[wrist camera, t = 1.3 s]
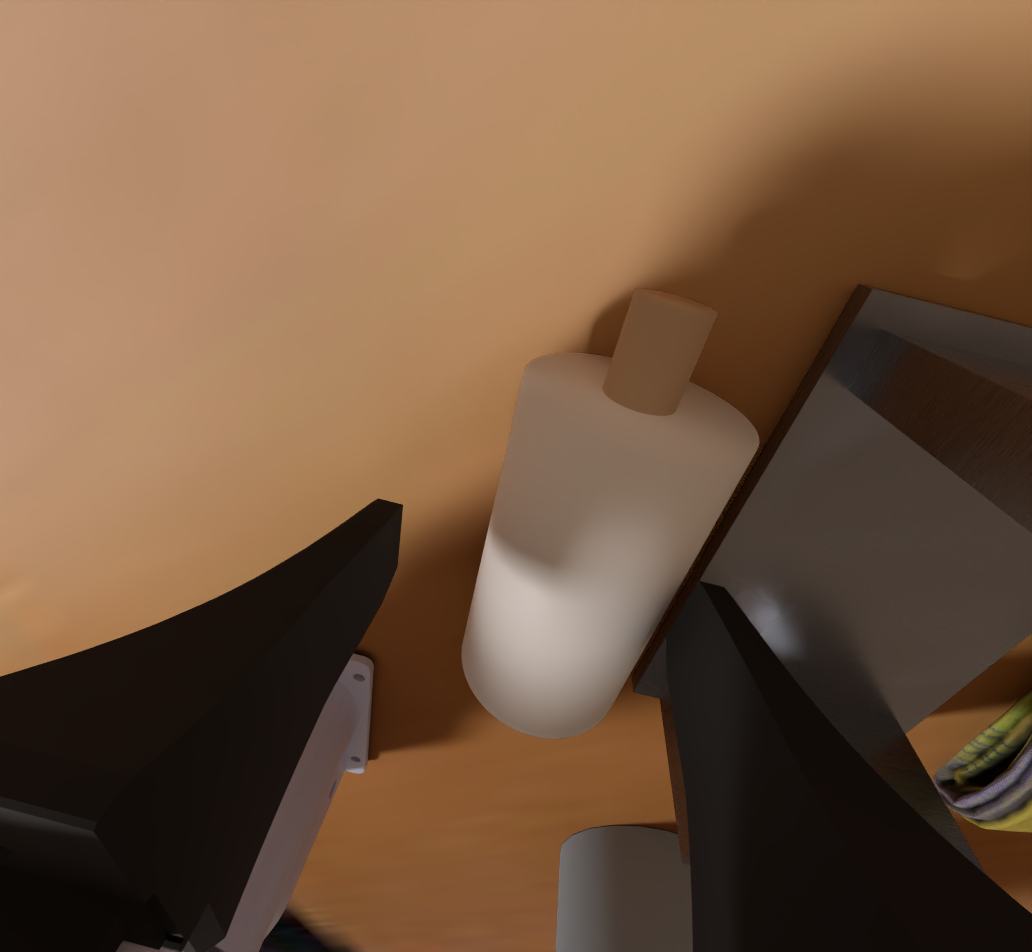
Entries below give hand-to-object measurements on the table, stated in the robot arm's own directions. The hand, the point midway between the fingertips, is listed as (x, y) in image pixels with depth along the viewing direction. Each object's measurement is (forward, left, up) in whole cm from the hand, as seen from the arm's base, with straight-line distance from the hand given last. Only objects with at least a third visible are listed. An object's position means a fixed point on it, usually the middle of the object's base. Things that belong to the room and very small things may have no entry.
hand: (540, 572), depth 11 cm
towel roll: (0, -1, -1) cm, 2 cm away
